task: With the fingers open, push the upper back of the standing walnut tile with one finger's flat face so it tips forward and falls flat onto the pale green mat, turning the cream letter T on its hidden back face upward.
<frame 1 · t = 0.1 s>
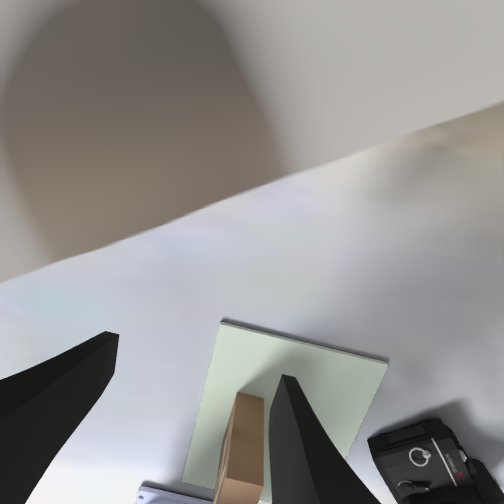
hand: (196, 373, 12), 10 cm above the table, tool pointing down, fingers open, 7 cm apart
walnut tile: (242, 421, 25), resting on mat
mat: (274, 425, 25), on the table
film camera: (425, 466, 27), on the table
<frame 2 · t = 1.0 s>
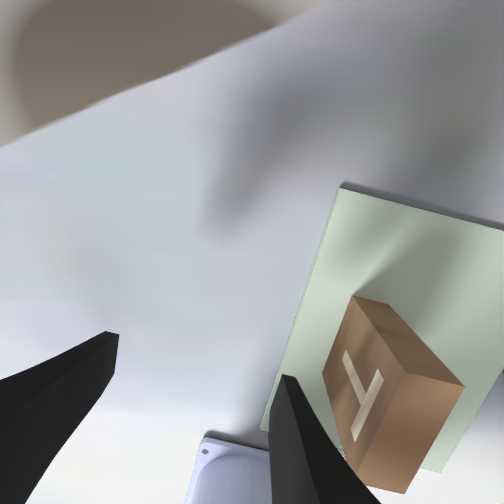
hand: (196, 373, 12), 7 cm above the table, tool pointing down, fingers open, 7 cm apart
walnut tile: (353, 340, 18), resting on mat
mat: (394, 347, 19), on the table
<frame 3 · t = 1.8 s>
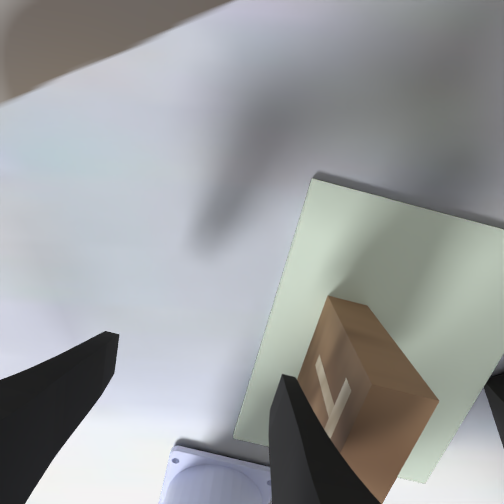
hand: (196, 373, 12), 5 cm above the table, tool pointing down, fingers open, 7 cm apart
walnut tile: (330, 343, 17), resting on mat
mat: (375, 351, 18), on the table
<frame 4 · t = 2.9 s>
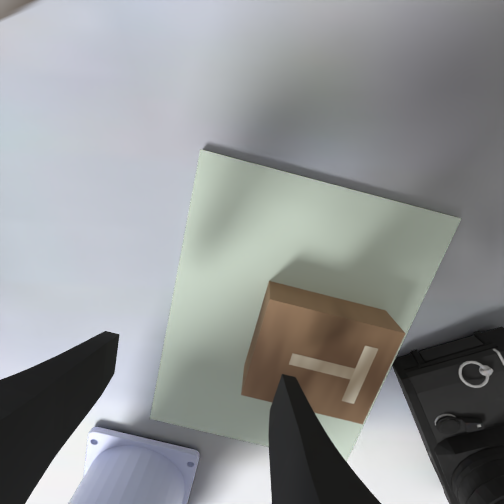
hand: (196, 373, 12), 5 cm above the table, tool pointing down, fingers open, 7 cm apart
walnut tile: (255, 336, 16), point 2 cm above the table, tilted 90°, touching mat
mat: (283, 328, 17), on the table
film camera: (465, 408, 19), on the table
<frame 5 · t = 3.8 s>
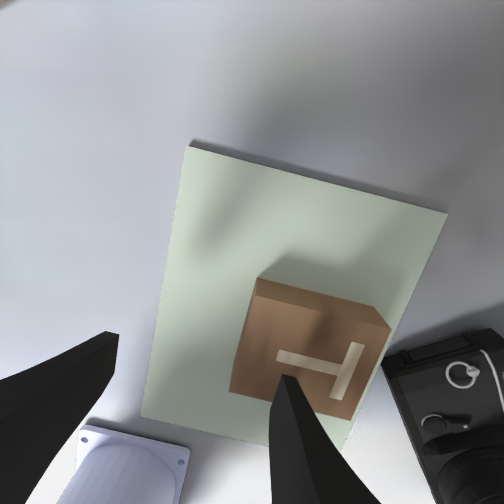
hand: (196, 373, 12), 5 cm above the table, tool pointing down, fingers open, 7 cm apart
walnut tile: (242, 333, 16), point 2 cm above the table, tilted 90°, touching mat
mat: (272, 325, 17), on the table
film camera: (453, 409, 19), on the table
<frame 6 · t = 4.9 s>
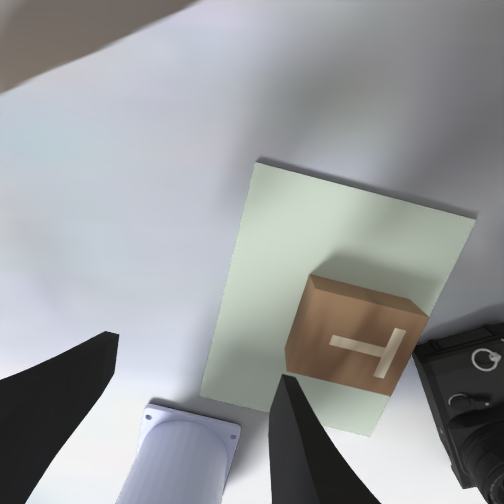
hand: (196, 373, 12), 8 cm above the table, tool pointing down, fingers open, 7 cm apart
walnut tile: (298, 321, 18), point 2 cm above the table, tilted 90°, touching mat
mat: (319, 316, 20), on the table
film camera: (472, 392, 22), on the table
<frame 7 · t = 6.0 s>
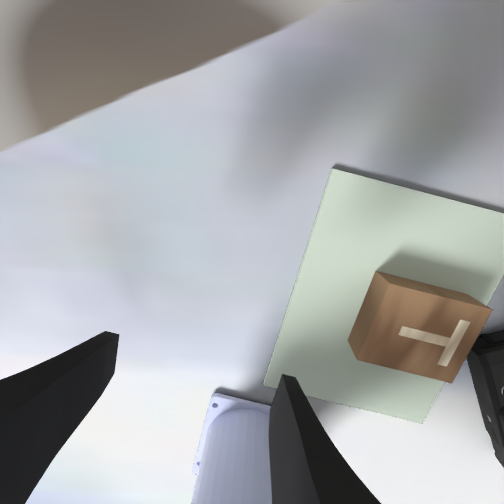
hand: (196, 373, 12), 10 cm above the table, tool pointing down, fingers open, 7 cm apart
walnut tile: (366, 314, 20), point 2 cm above the table, tilted 90°, touching mat
mat: (381, 309, 22), on the table
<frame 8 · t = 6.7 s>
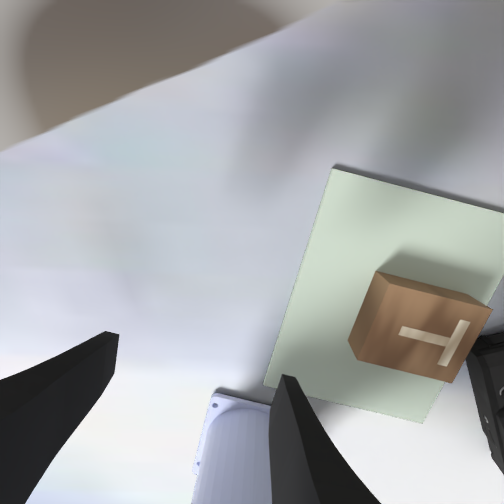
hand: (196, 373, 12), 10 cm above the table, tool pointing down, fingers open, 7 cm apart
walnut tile: (366, 314, 20), point 2 cm above the table, tilted 90°, touching mat
mat: (381, 309, 22), on the table
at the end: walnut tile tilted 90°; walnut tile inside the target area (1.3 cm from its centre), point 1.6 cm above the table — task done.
